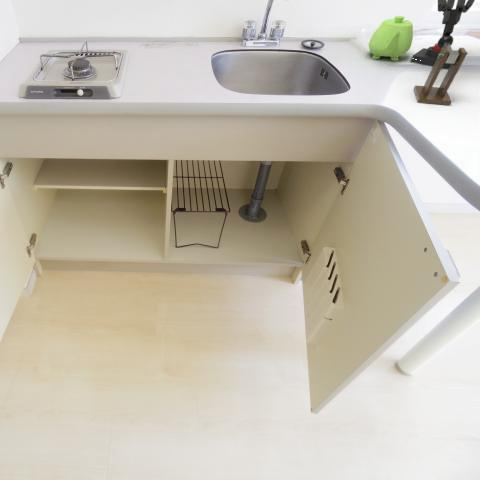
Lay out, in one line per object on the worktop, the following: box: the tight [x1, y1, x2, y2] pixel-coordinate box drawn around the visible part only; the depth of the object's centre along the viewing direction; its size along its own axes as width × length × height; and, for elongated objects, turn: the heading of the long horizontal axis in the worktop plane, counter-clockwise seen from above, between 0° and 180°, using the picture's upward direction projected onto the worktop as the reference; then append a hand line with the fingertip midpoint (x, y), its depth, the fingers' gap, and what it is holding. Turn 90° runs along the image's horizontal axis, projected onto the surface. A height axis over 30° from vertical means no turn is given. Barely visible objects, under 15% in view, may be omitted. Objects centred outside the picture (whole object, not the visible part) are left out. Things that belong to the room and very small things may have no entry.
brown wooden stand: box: [412, 47, 468, 106], centre depth 97 cm, size 10×8×13 cm
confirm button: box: [433, 43, 441, 51], centre depth 119 cm, size 4×4×2 cm
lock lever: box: [436, 35, 459, 64], centre depth 98 cm, size 14×4×4 cm, turn 159°
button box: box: [409, 45, 451, 70], centre depth 120 cm, size 12×10×4 cm
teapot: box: [368, 15, 414, 62], centre depth 123 cm, size 20×13×13 cm
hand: (447, 34), depth 100 cm, fingers closed
